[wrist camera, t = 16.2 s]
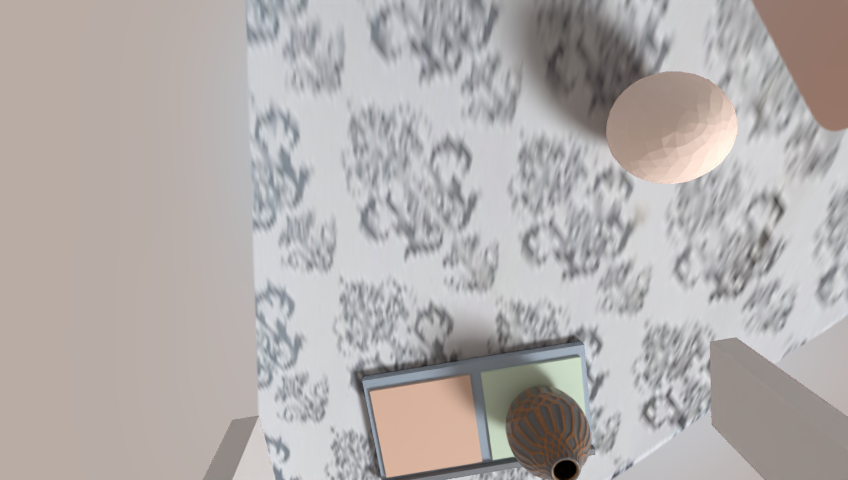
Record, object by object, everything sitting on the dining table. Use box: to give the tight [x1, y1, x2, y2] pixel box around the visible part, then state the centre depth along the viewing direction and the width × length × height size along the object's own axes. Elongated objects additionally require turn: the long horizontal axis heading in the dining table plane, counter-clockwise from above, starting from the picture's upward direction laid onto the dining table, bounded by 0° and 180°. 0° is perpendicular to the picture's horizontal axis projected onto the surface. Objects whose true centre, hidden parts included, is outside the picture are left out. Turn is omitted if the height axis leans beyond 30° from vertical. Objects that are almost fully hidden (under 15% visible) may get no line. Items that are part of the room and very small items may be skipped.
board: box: [362, 341, 595, 480], centre depth 51 cm, size 11×20×1 cm, turn 99°
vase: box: [505, 386, 591, 480], centre depth 47 cm, size 7×7×9 cm
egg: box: [606, 72, 738, 184], centre depth 40 cm, size 8×8×11 cm
